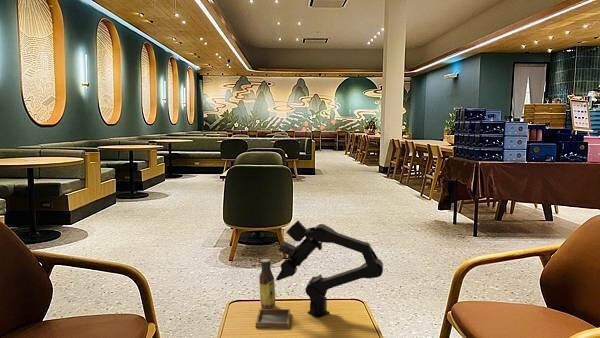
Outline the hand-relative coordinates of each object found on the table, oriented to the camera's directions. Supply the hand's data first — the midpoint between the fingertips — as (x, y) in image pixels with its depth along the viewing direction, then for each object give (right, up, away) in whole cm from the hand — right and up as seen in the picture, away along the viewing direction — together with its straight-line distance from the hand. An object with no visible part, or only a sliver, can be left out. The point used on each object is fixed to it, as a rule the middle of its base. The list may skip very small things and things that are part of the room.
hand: (279, 275), depth 184 cm
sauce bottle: (-5, -14, +5) cm, 16 cm away
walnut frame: (-2, -16, -8) cm, 18 cm away
